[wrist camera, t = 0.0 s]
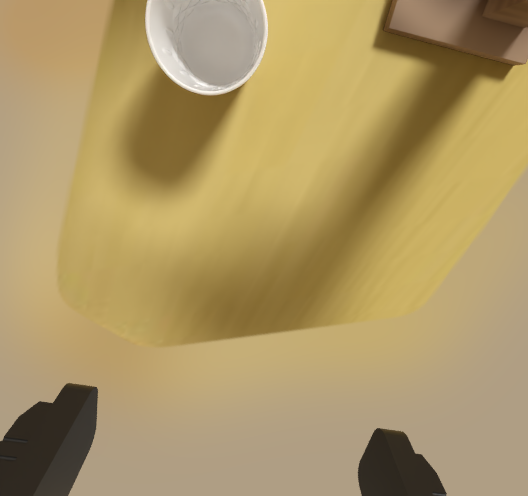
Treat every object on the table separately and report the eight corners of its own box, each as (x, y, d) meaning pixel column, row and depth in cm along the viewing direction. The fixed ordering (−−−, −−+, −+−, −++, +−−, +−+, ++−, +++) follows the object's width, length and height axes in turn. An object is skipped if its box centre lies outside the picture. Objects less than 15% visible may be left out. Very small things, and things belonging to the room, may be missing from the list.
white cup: (166, 75, 33) (132, 67, 24) (191, -21, 30) (163, -73, 21) (246, 109, 34) (243, 113, 25) (277, 19, 31) (286, -13, 22)
